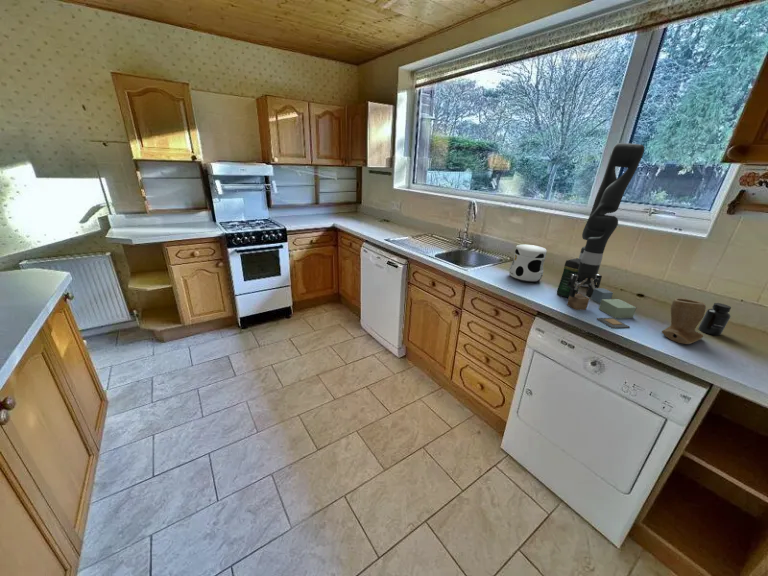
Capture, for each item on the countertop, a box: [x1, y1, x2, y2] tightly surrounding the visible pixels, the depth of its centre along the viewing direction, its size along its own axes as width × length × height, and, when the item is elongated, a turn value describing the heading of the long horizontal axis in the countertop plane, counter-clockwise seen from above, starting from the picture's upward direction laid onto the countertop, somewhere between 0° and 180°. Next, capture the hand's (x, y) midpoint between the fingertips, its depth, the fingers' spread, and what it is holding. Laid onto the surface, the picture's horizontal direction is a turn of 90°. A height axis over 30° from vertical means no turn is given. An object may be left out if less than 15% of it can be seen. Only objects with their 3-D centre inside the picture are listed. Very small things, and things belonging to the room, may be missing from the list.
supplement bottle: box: [698, 302, 732, 337], centre depth 127 cm, size 7×7×12 cm
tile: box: [596, 316, 630, 329], centre depth 131 cm, size 8×8×1 cm
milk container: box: [508, 243, 547, 283], centre depth 175 cm, size 17×17×18 cm
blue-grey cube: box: [590, 287, 614, 304], centre depth 153 cm, size 6×6×6 cm
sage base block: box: [598, 298, 637, 319], centre depth 141 cm, size 9×9×5 cm
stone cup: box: [661, 297, 706, 345], centre depth 121 cm, size 15×12×15 cm
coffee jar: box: [556, 257, 581, 298], centre depth 156 cm, size 10×8×19 cm
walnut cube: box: [566, 293, 590, 311], centre depth 145 cm, size 6×6×6 cm
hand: (580, 296), depth 143 cm, fingers open, 8 cm apart
